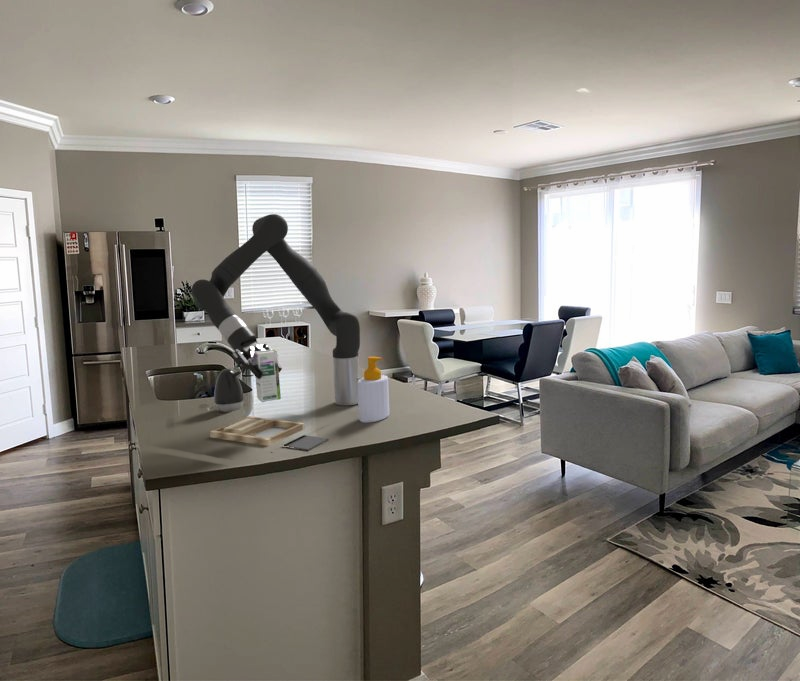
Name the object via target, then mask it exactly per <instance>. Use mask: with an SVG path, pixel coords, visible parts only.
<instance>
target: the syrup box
mask: <svg viewBox="0 0 800 681" xmlns="http://www.w3.org/2000/svg"><path fill="white" fill-rule="evenodd" d="M254 354H255V365H257V366H258V367H259V369H260V370H261V371H262V372H263V374H264V375H263V377H262V378H261V379H258V378H257V377H255V385H256V386H255V388H256V398H257V399H258V400H259V401H260V402H262V403H265V402H272V401H277V400H281V399H282V397H281V396H282V395H281V387H280V386H281V384H280V374H279V373H280V372H279V370H278V364H279V361H278V360H279V358H278V357H277V355H278V351H277V350H276V349H273V348H272V349H270V350H263V351H254Z"/></svg>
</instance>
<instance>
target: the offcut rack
mask: <svg viewBox="0 0 800 681" xmlns="http://www.w3.org/2000/svg"><path fill="white" fill-rule="evenodd" d="M247 418H248V419H258V420H264V424H261V425H259V426H256V427H254V428H252V429H249V430H247V431H244V432H242V433H240V434H235V433H228V432H224V428H225V427H228V426H230V425H233V424H235V423H237V422H240V421H242V420H244V419H247ZM274 427H277V428H284V429H285V430H283V431H281V432H279V433H276V434H275V435H273V436H270V437H262V436H254V435H257V434H259V433H262V432H264V431H266V430H268V429H271V428H274ZM305 429H306V423H305V422H300V421H290V420H281V419H274V418H267V417H266V418H265V417H259V416H258V417H257V416H246V417H244V418H241V419H239V420H236V421H234V422H231V423H227V424H226V425H224V426H221V427H218V428H215V429H212V430H210V431H209V438H212V439H220V440H225V441H226V440H227V441H233V442H240V443H247V444H254V445H258V446H267V447H269V446H272V445H275V444H276V443H278V442H280V441H282V440H285V439H286V438H289V437H290V436H293V435H295V434H297V433H299V432H301V431H303V430H305Z"/></svg>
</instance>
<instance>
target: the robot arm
mask: <svg viewBox="0 0 800 681" xmlns="http://www.w3.org/2000/svg"><path fill="white" fill-rule="evenodd" d="M251 228H252V236H251V237H250V238H249V239H248V240H247V241H245V242H244V243H243V244H242V245H240V247H238V248H236V249H235V250H234V251H233V252H231V253H230V254H229V255H227V256H226V257H225V258H224V259H223V260H222V261H221V262H220V263H219V264H218V265H217V266H216V267H215V268H214V269H213V271H212V272H211V277H210V279H209V280H207V279H197V281H195V282H194V283H193V284H192V286H191V296H192V300H193V303H194V304H195V306H196V307H197V309H200V310H202V311H205V312H206V313H207V315H208V316H207V317H208V318H209V320H210V321H211V323H212V325H214V327H215V328H216V329H217V330H218V332H219V333H220V335H221V336H222V337H223V338H224V340H225V341H226V342H227V344H229V346H230V347H231V348H232V350H233V353H232V354H231V358H233V360H234V361H235V362H236V363H237V365H238V366H239V368H241V369H242V371H246V370H248V371H250V372H251V373H252V374H253V376H255V378H256V377H257V378H258V379H261V378H262V377H263V375H264V374H263V372H262V371H261V370H260V369H259V367H258V366H257V365H255V354H254V351H263V350H270V349H273V348H272V346H271V345H270V344H269V343H268V342H266V341H265V342H264V343H263V344H260V343H259V342H258V340H257V336H256V334H255V333H254V332H253V331H252V330H251V328H250V327H249V326H248V325H247V324H246V322H245V321H244V320H243V319H242V318H240V317H239V316H238V314H237V313H236V312H235V311H234V309H233V308H232V307H230V305H229V304H228V303H227V301H226V300H225V298H224V296H225V295H226V294H227V292H228V290H229V289H230V287H231V286H232V285H234V283H235V282H236V281H238V279H239V278H240V277H241V276H242V275H243V274H244V273H245V272H246V271H247V270H248V269H249V268H250V267H251V266H252V265H253V264H254V263H255V262H256V261H257V260H258V259H260V257H261V256H262V255H263V254H265V253H266V252H267V253H268V254H269V255H270V256H271V257H272V258H273V259H274V260H275V262H276V263H277V264H278V266H279V267H280V268H281V269H282V271H283V272H284V273H285V274H286V276H287V277H288V278H289V279H290V281H291V282H292V283H293V284H294V285H293V286H295V288H297V290H298V291H299V292H300V294H302V296H303V297H304V298H305V300H306V301H307V302H308V303H309V304H310V305H311V306H312V307H313V308H314V310H315V311H316V312H317V314H318V315H319V317H320V319H321V320H322V321H323V323H324V325H325V326H326V328H327V329H328V331H329V332H330V333H331V334H332V335H333V336H335V338H336V339H335V341H336V343H335V347H334V348H333V349H332V365H333V366H332V367H333V384H334V385H333V386H334V388H333V389H334V403H335V405H338V406H355V405H358V388H357V382H358V380H360V379H361V378H360V365H359V364H360V362H359V350H360V347H361V327H360V321H359V319H358V317H357V316H356V315H355V314H354V313H351V312H346V311H344V310H342V309H341V308H340V306H339V305H338V304H337V303H336V302H335V301H334V299H333V297H332V296H331V294H330V292H329V290H328V289H329V288H328V285H327V284H326V281H325V279H324V278H323V276H322V275H321V273H320V272H319V271H318V270H317V268H316V267H315V266H314V264H313V263H312V262H310V261H309V260H308V259H306V257H304V256H302V255H301V254H299V253H298V252H297V251H296V250H294V249H293V248H292V247H291V246H290V245H289V244H288V242H287V241H286V239H285V238H286V236H287V234H288V231H289V225H288V223H287V221H286V219H285V218H284V217H283V216H282V215H280V214H276V213H274V214H273V213H271V214H267V215H265V216H262V217H259V218H258V219H256V220H255V221H254V222H253V224H252V227H251ZM278 356H279V355H278V354H277V358H278ZM282 369H283V368H282V366H281V365H280V364H279V363H278V370H279V373H280V372H281V371H282Z"/></svg>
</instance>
